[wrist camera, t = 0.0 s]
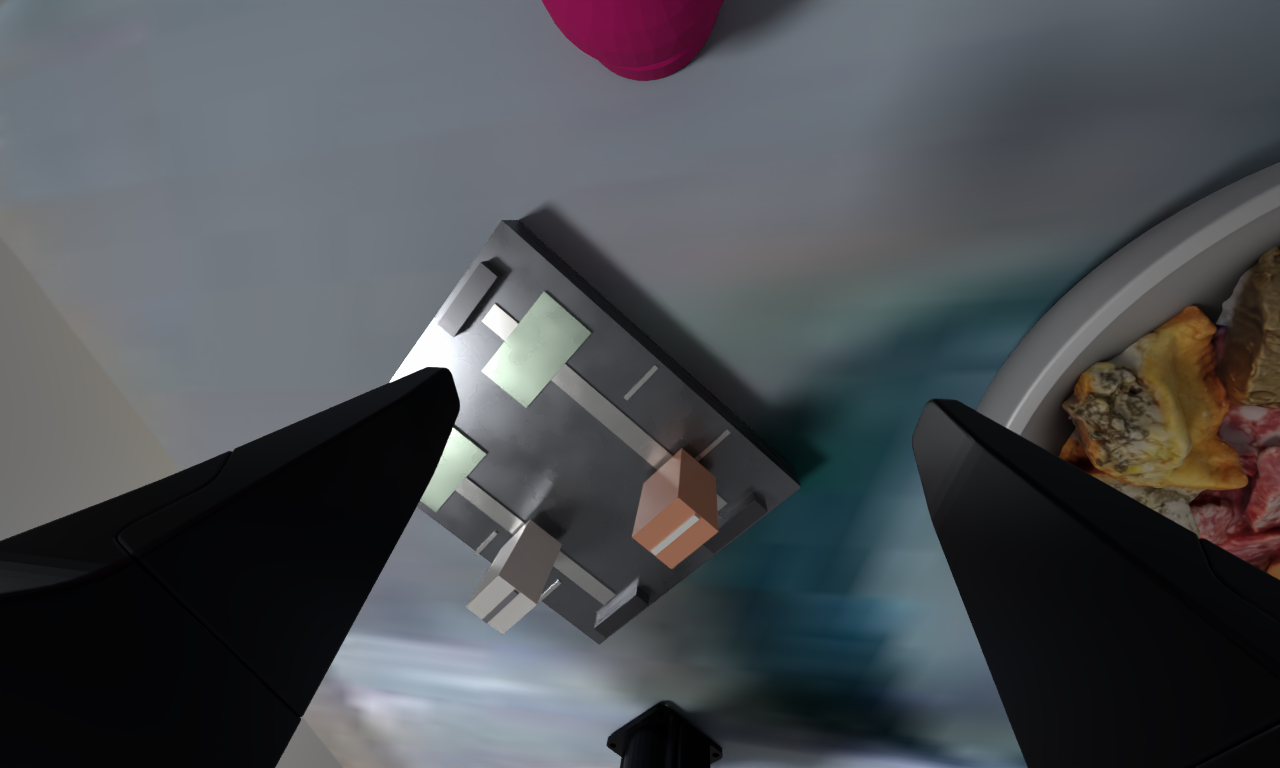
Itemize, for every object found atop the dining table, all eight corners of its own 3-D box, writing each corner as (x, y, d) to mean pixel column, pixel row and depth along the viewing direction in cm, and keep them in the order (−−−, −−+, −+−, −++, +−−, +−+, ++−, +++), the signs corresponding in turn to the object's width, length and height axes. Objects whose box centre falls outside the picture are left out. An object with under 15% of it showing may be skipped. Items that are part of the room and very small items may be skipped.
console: (603, 620, 32) (594, 655, 29) (364, 437, 29) (331, 458, 26) (794, 467, 26) (804, 494, 23) (517, 220, 23) (495, 220, 21)
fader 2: (676, 511, 25) (671, 570, 21) (643, 483, 24) (631, 538, 20) (715, 477, 24) (718, 533, 20) (681, 447, 23) (677, 498, 19)
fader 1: (532, 572, 28) (502, 636, 23) (500, 548, 27) (464, 608, 23) (562, 544, 27) (536, 606, 22) (529, 519, 26) (497, 576, 22)
